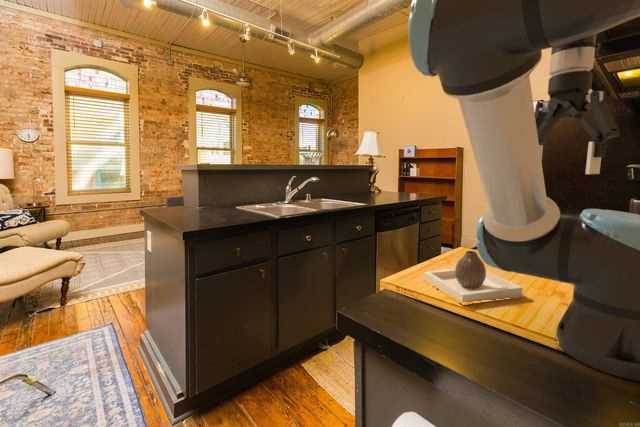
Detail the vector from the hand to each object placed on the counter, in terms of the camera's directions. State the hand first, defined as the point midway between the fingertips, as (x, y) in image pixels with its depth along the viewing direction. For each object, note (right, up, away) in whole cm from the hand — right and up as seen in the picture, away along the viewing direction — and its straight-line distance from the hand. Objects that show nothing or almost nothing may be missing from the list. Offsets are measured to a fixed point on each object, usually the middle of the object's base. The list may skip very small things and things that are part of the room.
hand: (561, 173), depth 73 cm
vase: (-17, -28, +8) cm, 33 cm away
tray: (-17, -28, +9) cm, 34 cm away
